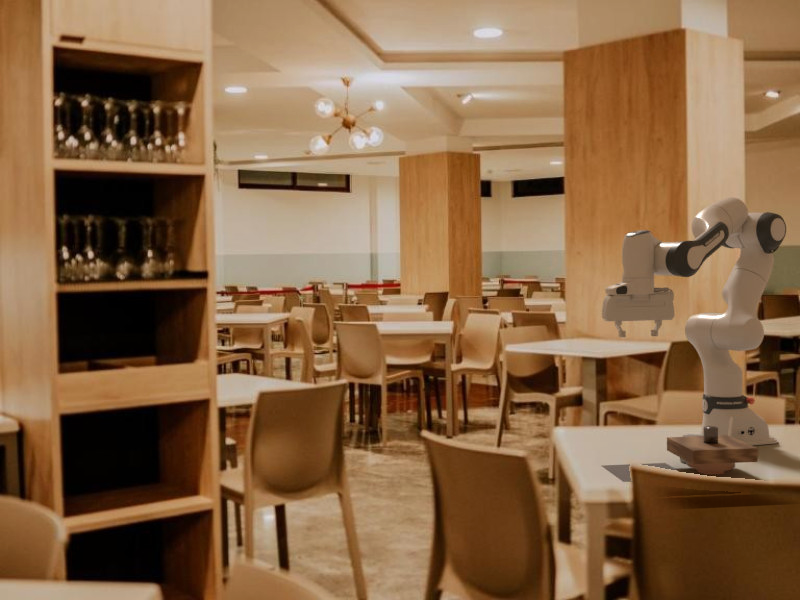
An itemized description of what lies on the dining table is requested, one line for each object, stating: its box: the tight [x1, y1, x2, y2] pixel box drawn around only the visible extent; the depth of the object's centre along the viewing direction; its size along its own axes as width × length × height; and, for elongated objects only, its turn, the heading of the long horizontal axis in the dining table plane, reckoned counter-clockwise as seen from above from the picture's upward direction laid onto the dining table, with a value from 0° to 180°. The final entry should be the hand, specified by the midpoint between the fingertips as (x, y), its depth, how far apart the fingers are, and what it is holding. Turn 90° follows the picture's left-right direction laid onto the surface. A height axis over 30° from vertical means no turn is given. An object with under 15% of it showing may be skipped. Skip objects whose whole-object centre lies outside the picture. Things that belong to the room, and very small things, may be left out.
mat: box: [601, 462, 679, 483], centre depth 243 cm, size 18×18×1 cm
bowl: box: [686, 461, 736, 475], centre depth 243 cm, size 12×12×7 cm
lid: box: [666, 426, 759, 464], centre depth 242 cm, size 17×17×8 cm
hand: (638, 336), depth 263 cm, fingers open, 8 cm apart
